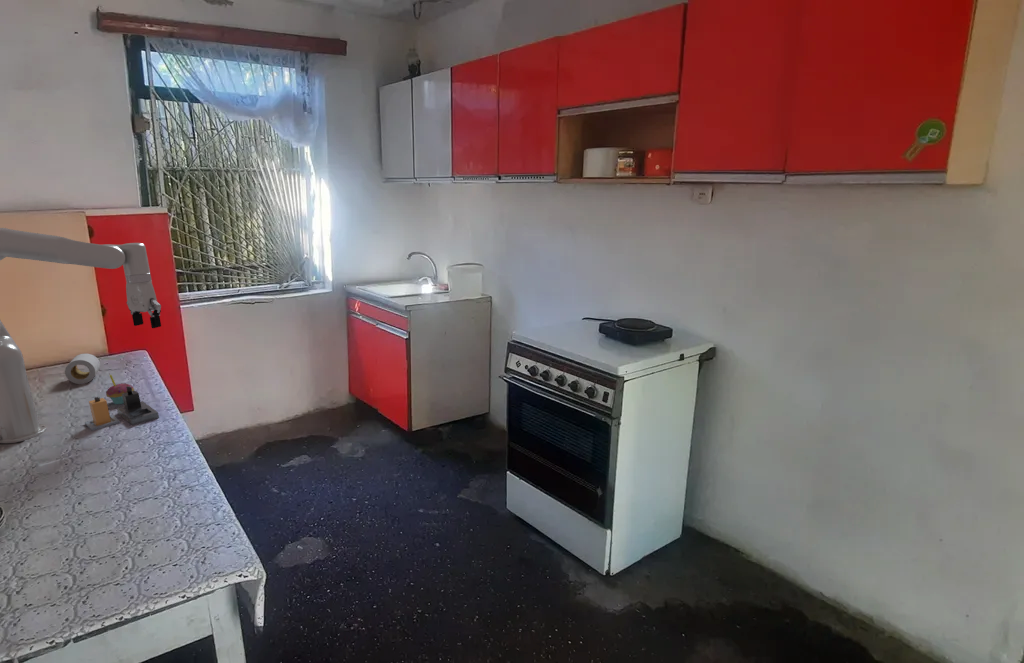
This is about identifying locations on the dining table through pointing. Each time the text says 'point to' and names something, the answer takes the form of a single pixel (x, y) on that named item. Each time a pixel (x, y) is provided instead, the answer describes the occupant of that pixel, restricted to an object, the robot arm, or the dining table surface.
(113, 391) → the cupcake
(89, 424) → the tray
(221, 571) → the dining table surface
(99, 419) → the plug
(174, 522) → the dining table surface
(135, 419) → the grey socket base
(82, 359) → the toilet paper
